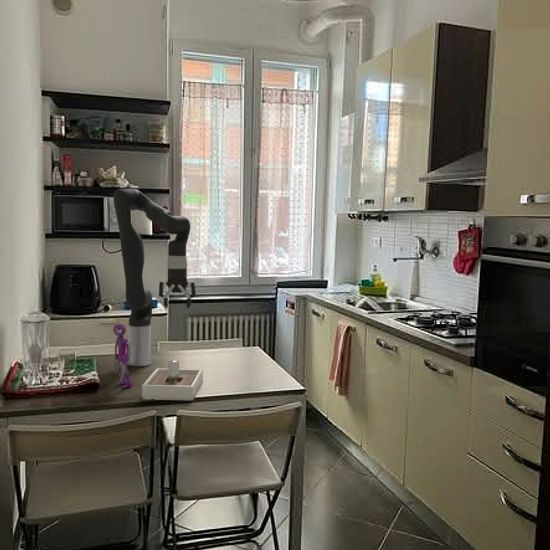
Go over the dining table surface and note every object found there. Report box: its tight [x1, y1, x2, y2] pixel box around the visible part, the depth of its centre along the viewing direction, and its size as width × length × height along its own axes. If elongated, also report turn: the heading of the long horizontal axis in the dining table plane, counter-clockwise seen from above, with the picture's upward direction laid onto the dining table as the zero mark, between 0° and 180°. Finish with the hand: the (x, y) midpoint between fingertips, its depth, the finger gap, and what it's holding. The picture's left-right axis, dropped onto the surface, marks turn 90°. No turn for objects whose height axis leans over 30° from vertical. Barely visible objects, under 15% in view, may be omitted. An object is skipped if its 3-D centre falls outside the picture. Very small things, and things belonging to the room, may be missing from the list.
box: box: [141, 367, 204, 401], centre depth 211 cm, size 18×22×5 cm
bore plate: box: [151, 374, 196, 386], centre depth 211 cm, size 14×14×3 cm
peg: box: [167, 359, 180, 382], centre depth 210 cm, size 4×4×10 cm
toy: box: [112, 323, 133, 389], centre depth 213 cm, size 16×7×24 cm, turn 37°
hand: (177, 307), depth 225 cm, fingers open, 8 cm apart
